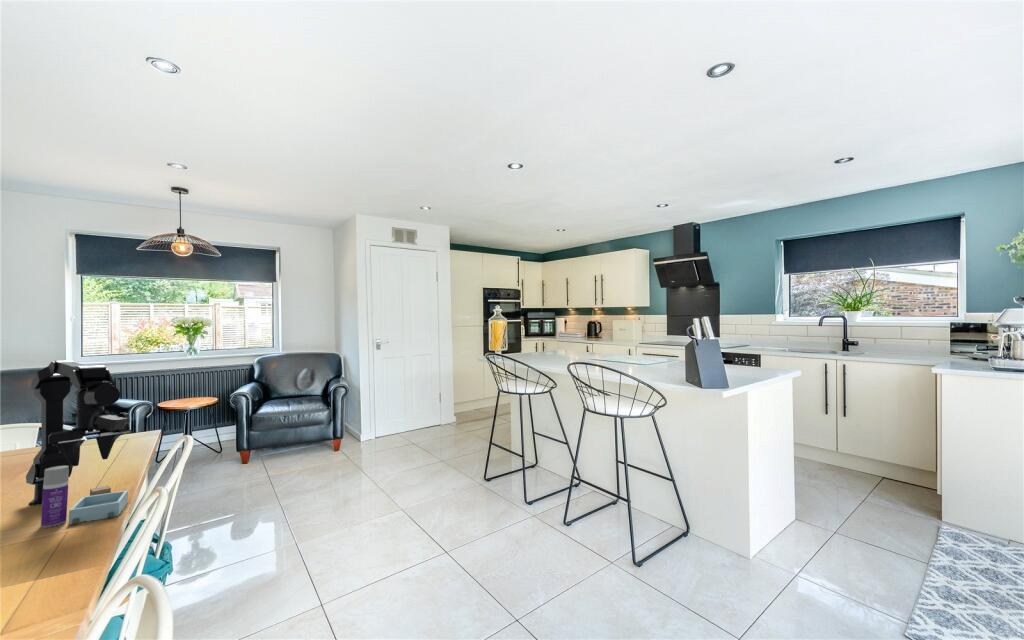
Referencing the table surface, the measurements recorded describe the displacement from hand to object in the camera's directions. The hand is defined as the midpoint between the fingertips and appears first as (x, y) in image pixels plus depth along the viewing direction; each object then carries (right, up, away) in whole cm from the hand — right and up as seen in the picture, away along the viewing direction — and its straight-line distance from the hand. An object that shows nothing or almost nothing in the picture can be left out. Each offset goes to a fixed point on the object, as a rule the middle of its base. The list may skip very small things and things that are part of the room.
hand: (91, 462), depth 120 cm
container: (-3, -14, -7) cm, 16 cm away
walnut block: (-7, -15, +9) cm, 19 cm away
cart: (+3, -15, 0) cm, 15 cm away
